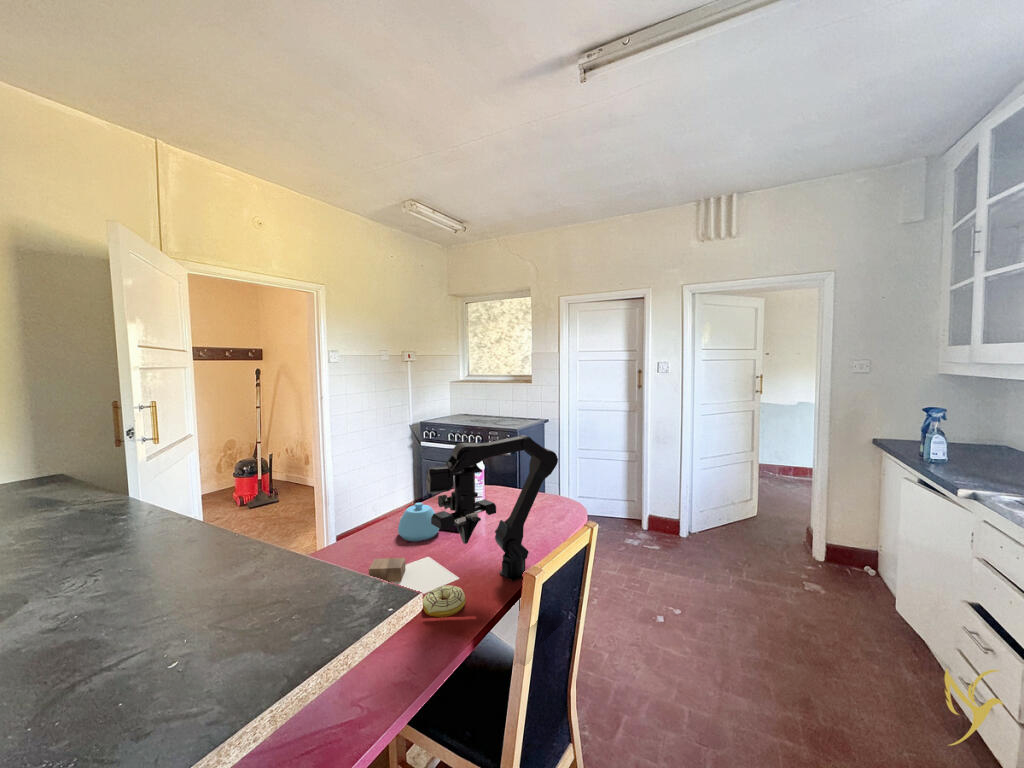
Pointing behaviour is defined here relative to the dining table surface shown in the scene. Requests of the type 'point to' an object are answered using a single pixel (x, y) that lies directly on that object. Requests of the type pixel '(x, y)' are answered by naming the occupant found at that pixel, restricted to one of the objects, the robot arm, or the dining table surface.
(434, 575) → the rubber mat
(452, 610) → the decorated donut
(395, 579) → the walnut block
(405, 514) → the sugar bowl
